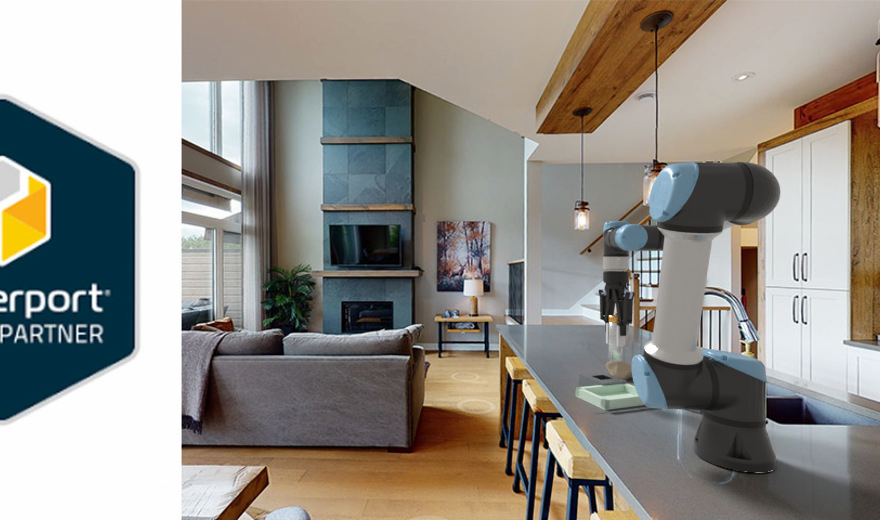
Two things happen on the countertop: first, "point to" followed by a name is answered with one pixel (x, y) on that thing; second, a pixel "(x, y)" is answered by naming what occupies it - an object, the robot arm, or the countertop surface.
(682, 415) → the countertop surface
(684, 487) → the countertop surface
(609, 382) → the hitch block
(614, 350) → the clear bottle
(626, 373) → the stone
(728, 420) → the robot arm
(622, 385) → the tray
